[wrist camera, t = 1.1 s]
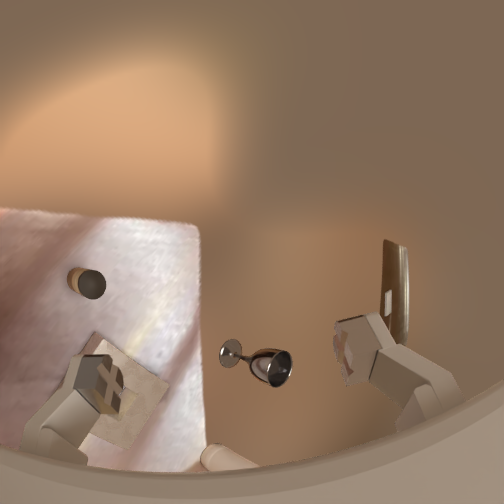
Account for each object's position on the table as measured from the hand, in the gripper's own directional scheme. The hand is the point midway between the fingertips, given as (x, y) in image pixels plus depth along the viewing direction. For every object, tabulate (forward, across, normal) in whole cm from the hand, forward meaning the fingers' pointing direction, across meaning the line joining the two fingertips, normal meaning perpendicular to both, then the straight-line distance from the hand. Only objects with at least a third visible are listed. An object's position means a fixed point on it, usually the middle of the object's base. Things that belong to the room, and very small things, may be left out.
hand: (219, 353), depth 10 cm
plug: (+31, +27, +16) cm, 44 cm away
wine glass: (+38, +6, +48) cm, 62 cm away
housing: (+21, +28, +34) cm, 49 cm away
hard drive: (+94, -70, +103) cm, 156 cm away
